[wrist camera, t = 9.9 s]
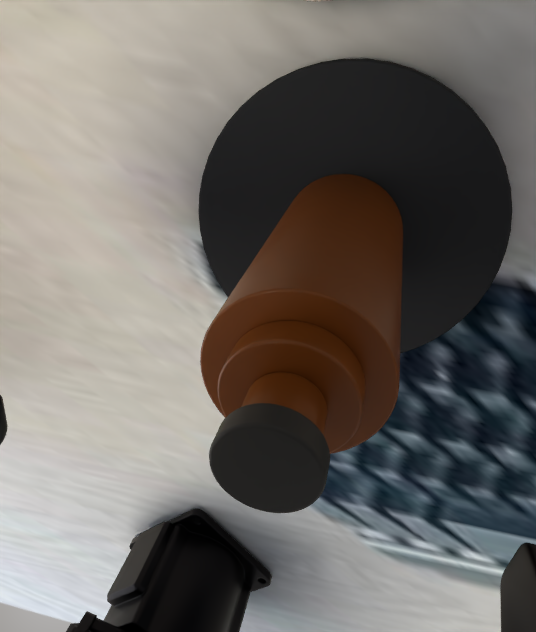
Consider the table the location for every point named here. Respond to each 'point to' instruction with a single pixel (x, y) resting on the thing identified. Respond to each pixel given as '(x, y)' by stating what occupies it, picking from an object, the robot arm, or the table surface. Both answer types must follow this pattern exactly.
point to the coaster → (374, 164)
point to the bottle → (307, 345)
